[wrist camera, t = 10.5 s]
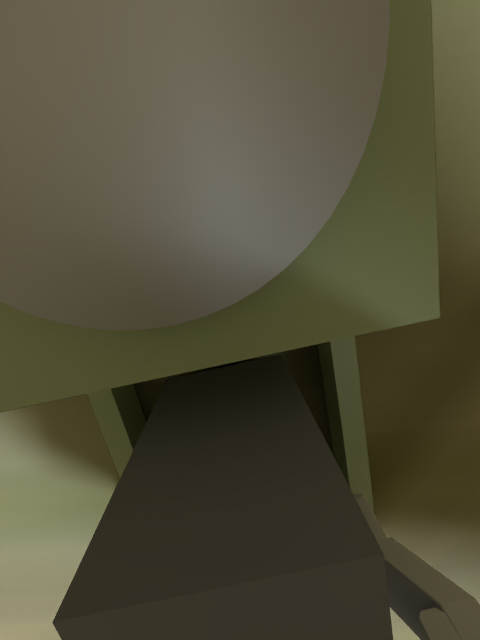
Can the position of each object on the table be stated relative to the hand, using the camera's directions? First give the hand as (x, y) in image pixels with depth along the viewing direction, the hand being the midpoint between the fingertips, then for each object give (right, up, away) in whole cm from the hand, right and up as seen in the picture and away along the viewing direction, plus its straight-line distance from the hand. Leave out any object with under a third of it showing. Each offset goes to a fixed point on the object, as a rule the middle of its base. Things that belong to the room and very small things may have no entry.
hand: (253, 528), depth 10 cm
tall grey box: (0, +1, +3) cm, 3 cm away
